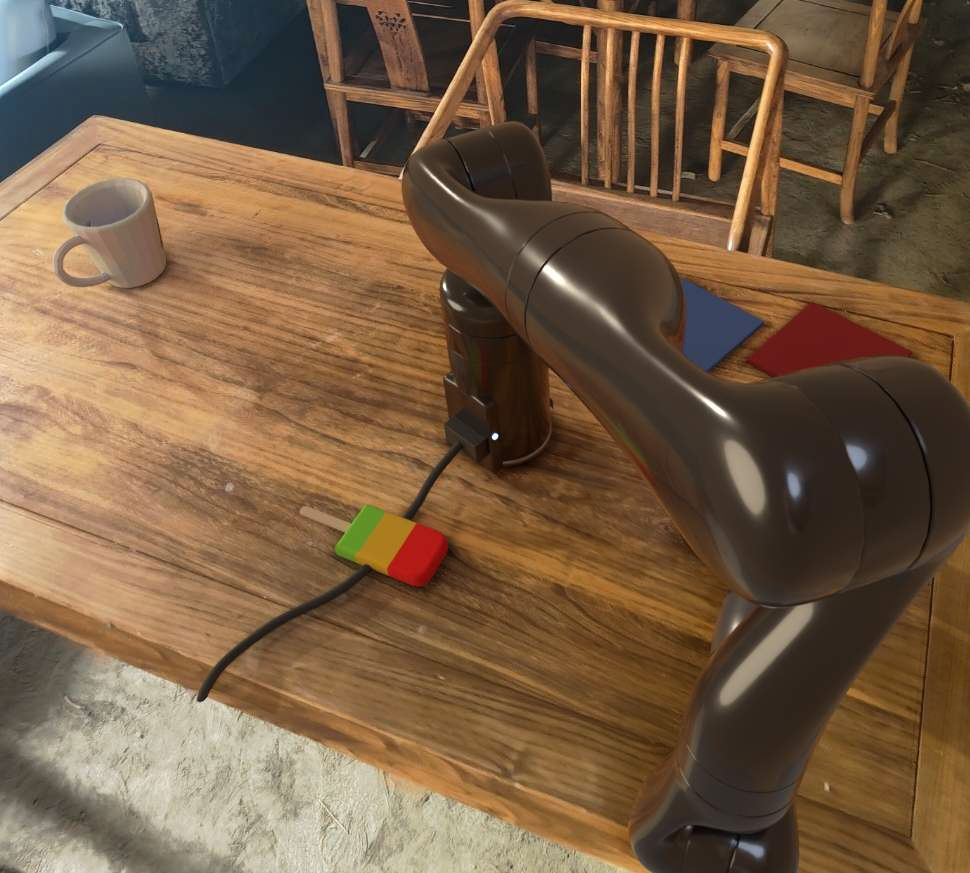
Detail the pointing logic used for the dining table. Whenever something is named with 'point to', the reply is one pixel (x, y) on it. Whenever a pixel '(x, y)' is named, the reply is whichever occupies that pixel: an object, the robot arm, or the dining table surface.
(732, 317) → the blue mat
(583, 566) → the dining table surface
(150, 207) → the mug
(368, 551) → the popsicle
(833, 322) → the red mat
